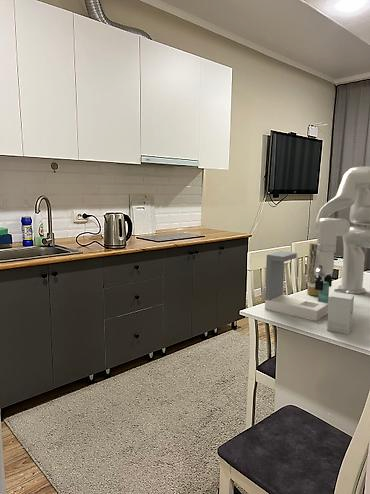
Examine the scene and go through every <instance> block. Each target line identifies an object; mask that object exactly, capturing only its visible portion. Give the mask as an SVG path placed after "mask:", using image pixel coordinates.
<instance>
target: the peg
mask: <svg viewBox="0 0 370 494" xmlns="http://www.w3.org/2000/svg"><path fill="white" fill-rule="evenodd" d="M317 297H318V300H317V301H318V302H323V303H328V304H329V297H330V287H329V282H323V290H322V291H320V290H319V296H317Z"/></svg>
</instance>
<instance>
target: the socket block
mask: <svg viewBox="0 0 370 494" xmlns="http://www.w3.org/2000/svg"><path fill="white" fill-rule="evenodd" d="M297 255H298V254H297V252H291V251H284V250H283V251H282V250H278V251H275V252H272V253H268V254H266V262H265V264H266V265H265V268H266V269H265V291H264V292H265V295H264V310H269V311H272V312H277V313H281V314H285V315H290V316H293V317H294V316H295V317H297V318H303V319H307V320H311V321H315V322H317V321H319V320H320V319H322V318H323V317H325V316H326V315H328V310H329V302H328V303H323V302H318V300H312V299H308V298H302V297H297V296H293V295H288V294H284V275H285V273H284V272H285V262H288V261H291V260H294V259H297V257H298V256H297Z"/></svg>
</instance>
